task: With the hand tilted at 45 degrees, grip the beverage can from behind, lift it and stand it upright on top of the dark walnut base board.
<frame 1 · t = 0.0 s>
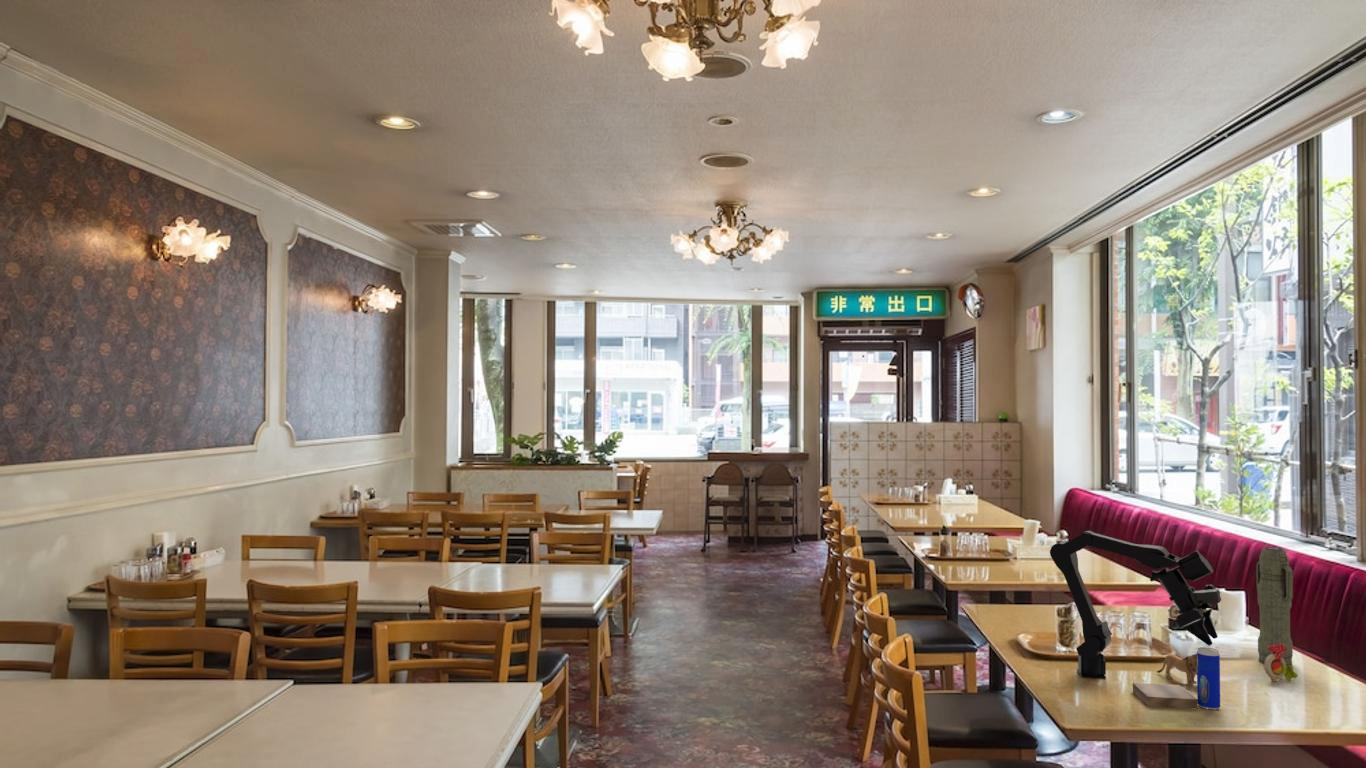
hand: (1213, 641, 244), 15 cm above the table, tool tilted 35°, fingers open, 9 cm apart
grey-green panelled tower: (1275, 663, 277), on the table
beverage can: (1208, 708, 235), on the table
bird rattle: (1278, 681, 258), on the table
lion figurine: (1184, 681, 258), on the table
walnut base board: (1164, 700, 240), on the table
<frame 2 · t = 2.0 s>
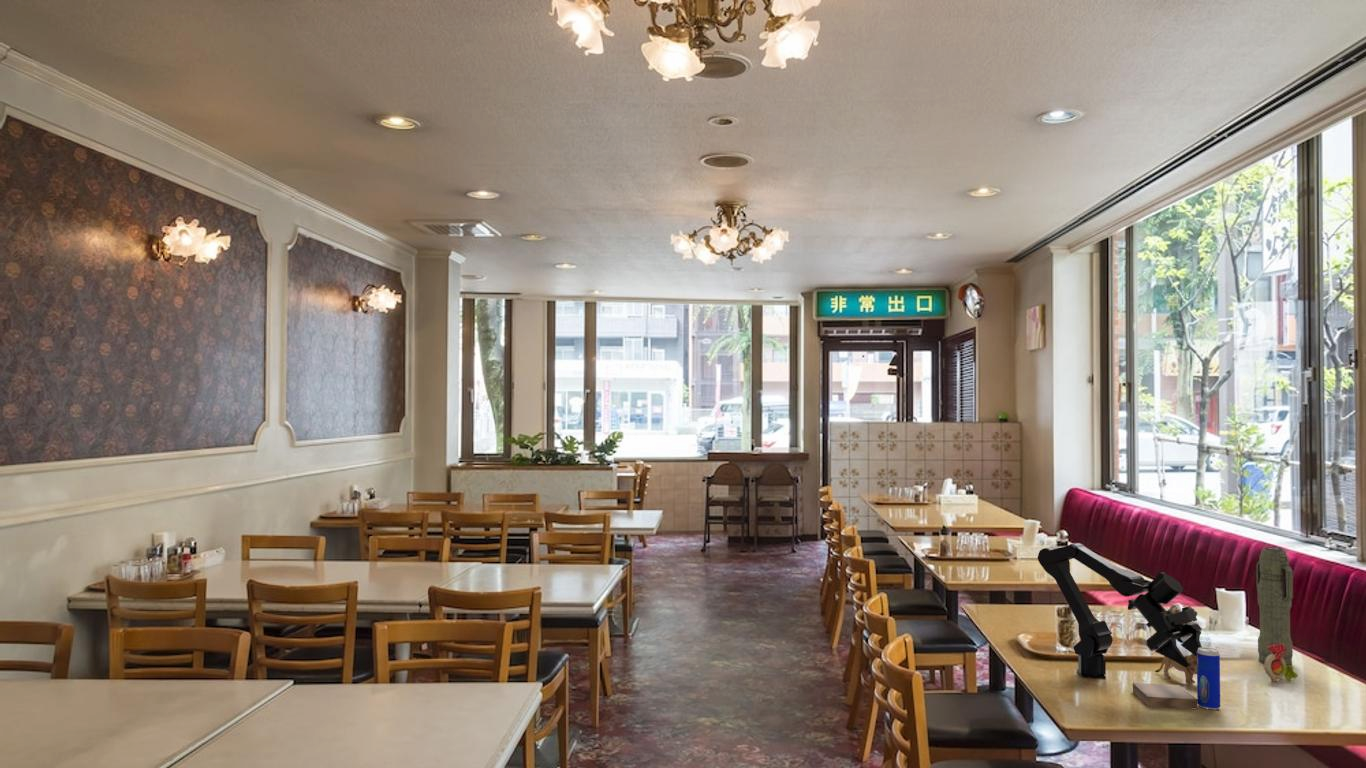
hand: (1197, 663, 238), 11 cm above the table, tool tilted 45°, fingers open, 9 cm apart
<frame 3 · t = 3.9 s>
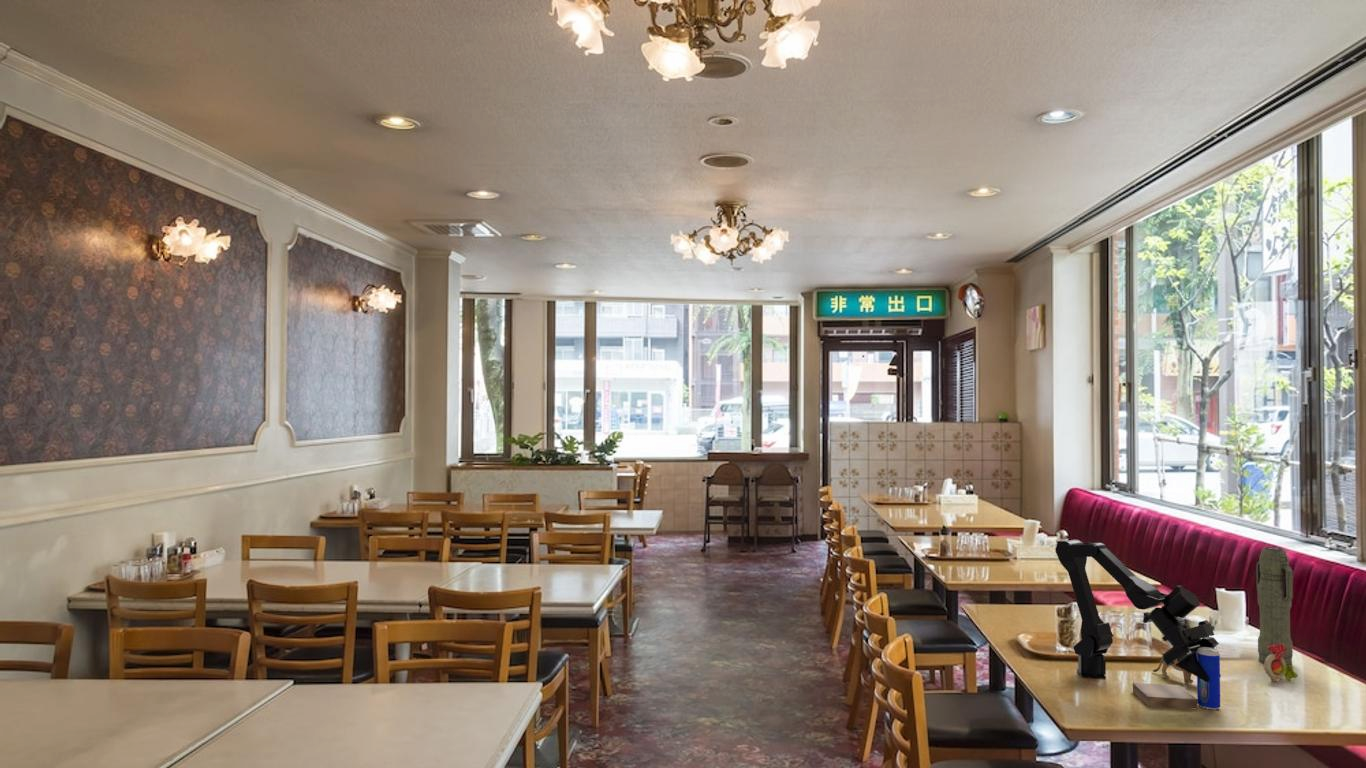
hand: (1214, 679, 234), 8 cm above the table, tool tilted 45°, fingers closed on beverage can, 5 cm apart
beverage can: (1208, 708, 235), on the table, touching gripper
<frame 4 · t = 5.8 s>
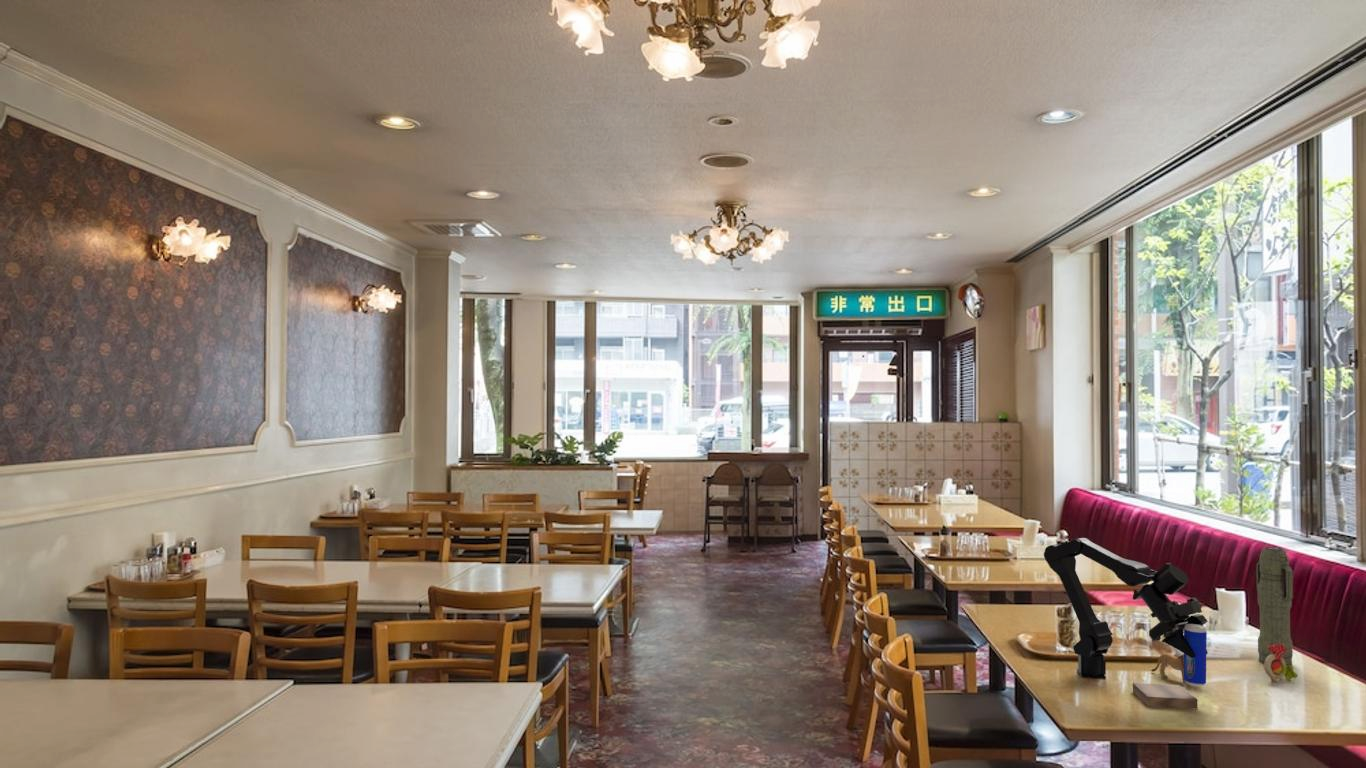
hand: (1200, 655, 236), 13 cm above the table, tool tilted 45°, fingers closed on beverage can, 5 cm apart
beverage can: (1194, 684, 237), point 6 cm above the table, touching gripper
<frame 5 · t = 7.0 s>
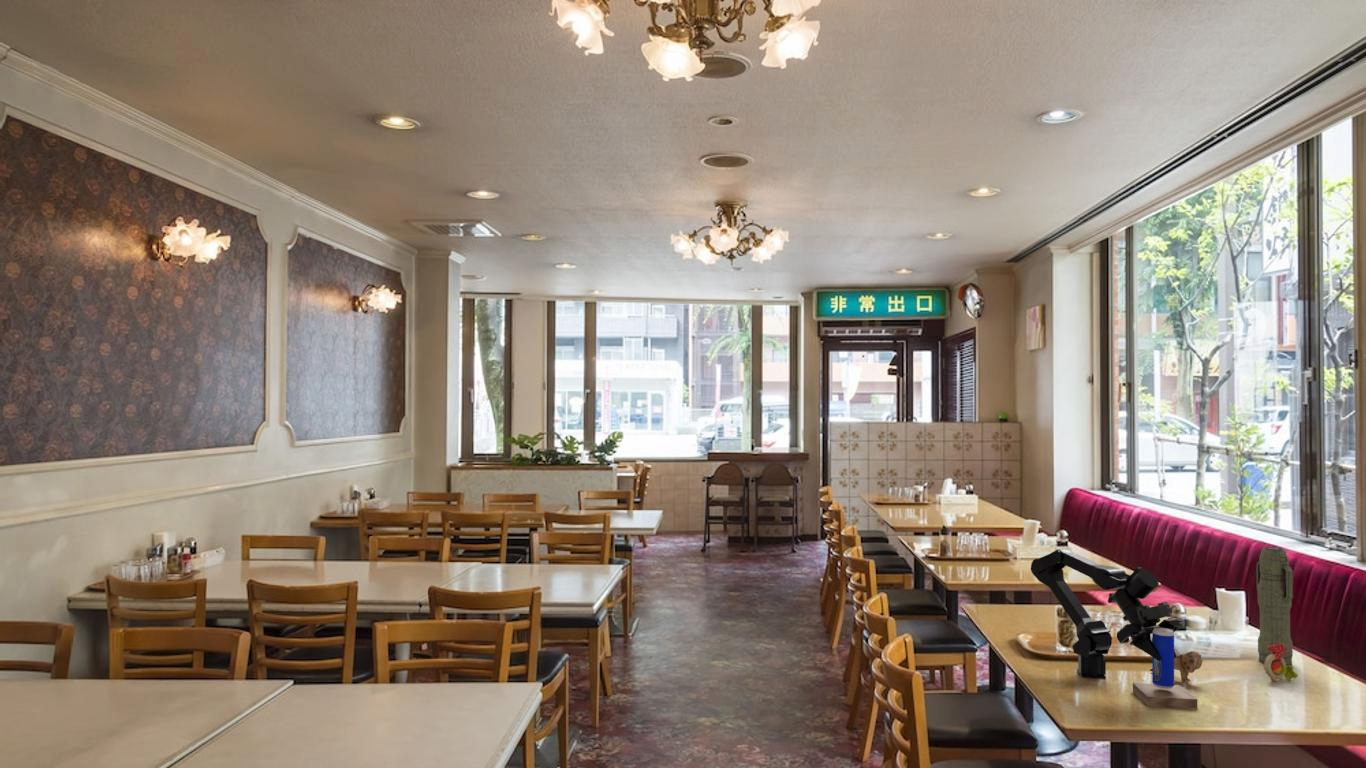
hand: (1167, 659, 240), 11 cm above the table, tool tilted 45°, fingers closed on beverage can, 5 cm apart
beverage can: (1163, 686, 241), point 4 cm above the table, touching gripper
when the fingers open (11 cm above the table, at t = 7.7 s): beverage can drops 1 cm, resting on walnut base board.
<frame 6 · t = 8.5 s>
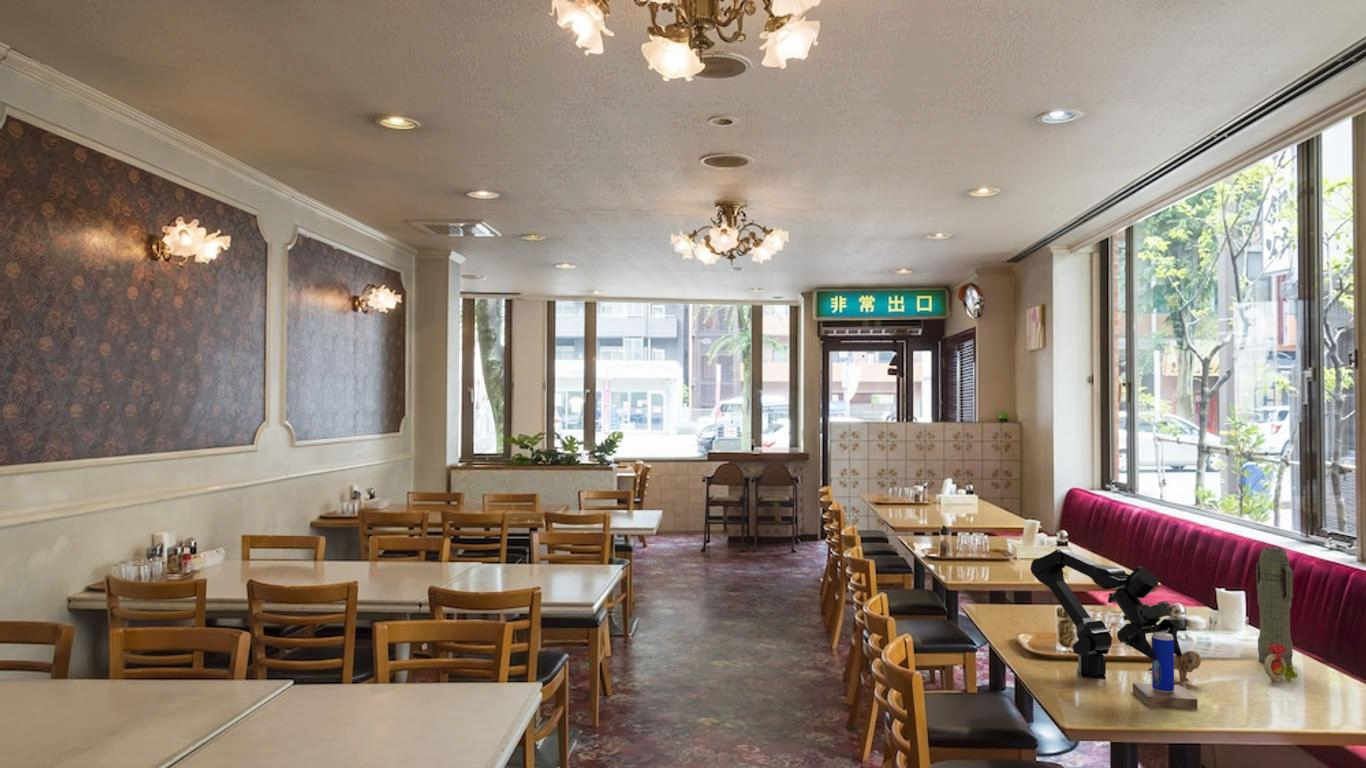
hand: (1168, 658, 239), 12 cm above the table, tool tilted 45°, fingers open, 9 cm apart
beverage can: (1163, 691, 241), point 2 cm above the table, touching walnut base board
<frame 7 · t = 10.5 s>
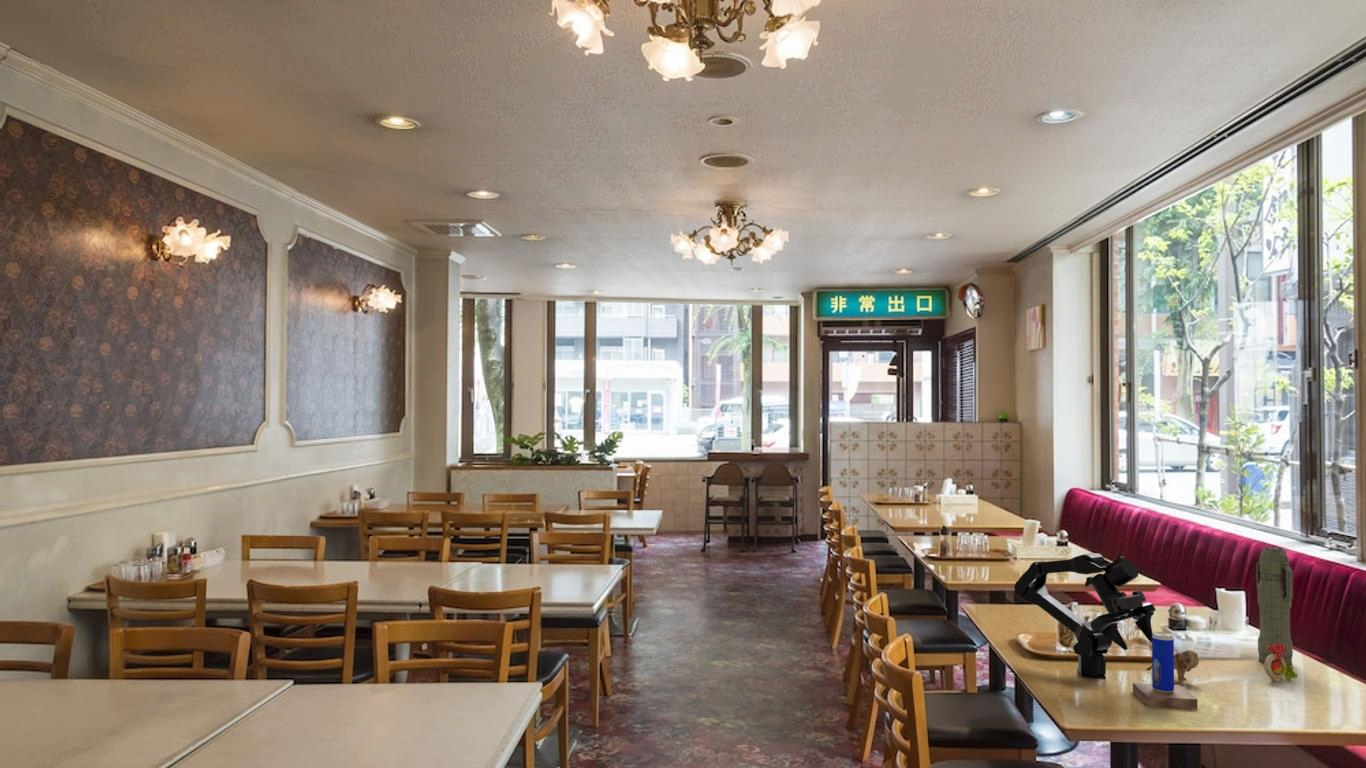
hand: (1139, 645, 250), 12 cm above the table, tool tilted 35°, fingers open, 9 cm apart
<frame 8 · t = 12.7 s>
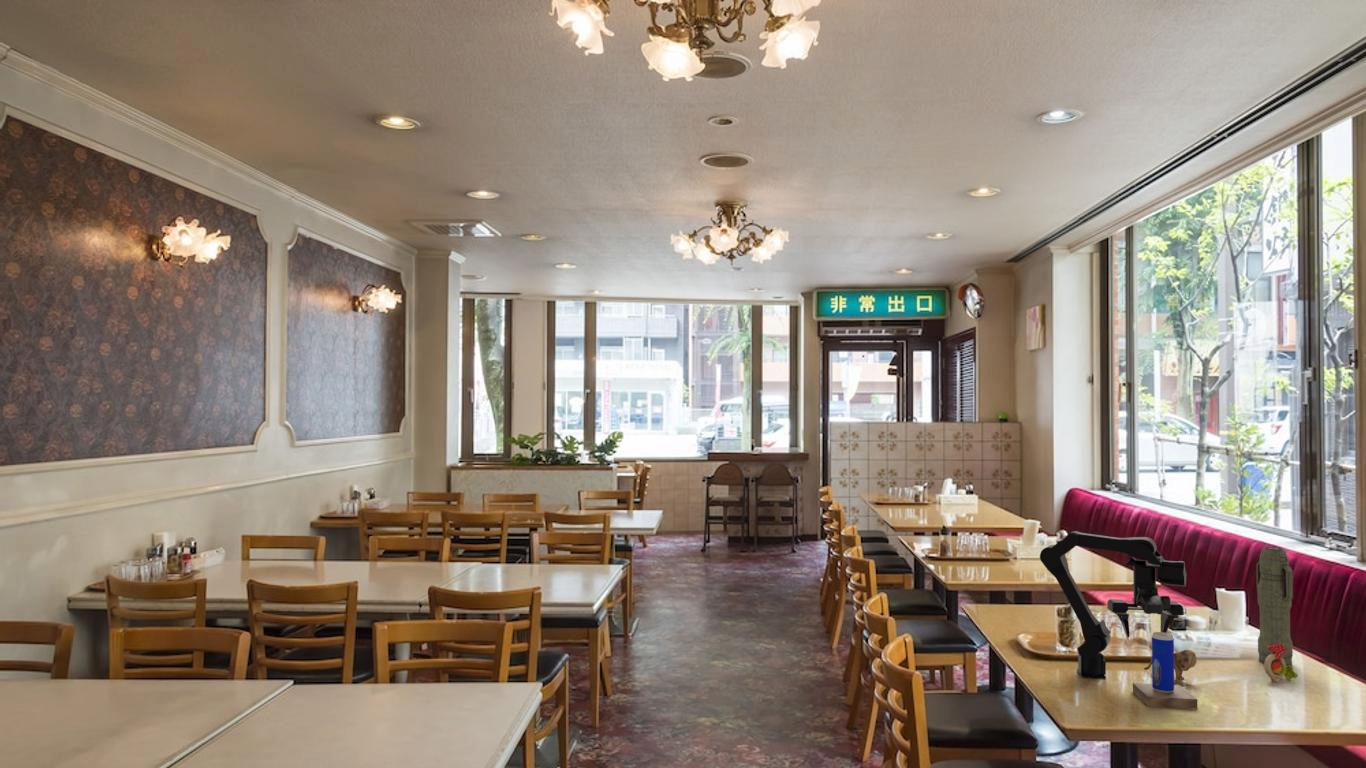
hand: (1145, 637, 255), 13 cm above the table, tool pointing down, fingers open, 9 cm apart
at the end: beverage can inside the target area on the walnut base board (0.3 cm from its centre), point 2.3 cm above the walnut base board's base; beverage can tilted 0°; the gripper is holding nothing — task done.
